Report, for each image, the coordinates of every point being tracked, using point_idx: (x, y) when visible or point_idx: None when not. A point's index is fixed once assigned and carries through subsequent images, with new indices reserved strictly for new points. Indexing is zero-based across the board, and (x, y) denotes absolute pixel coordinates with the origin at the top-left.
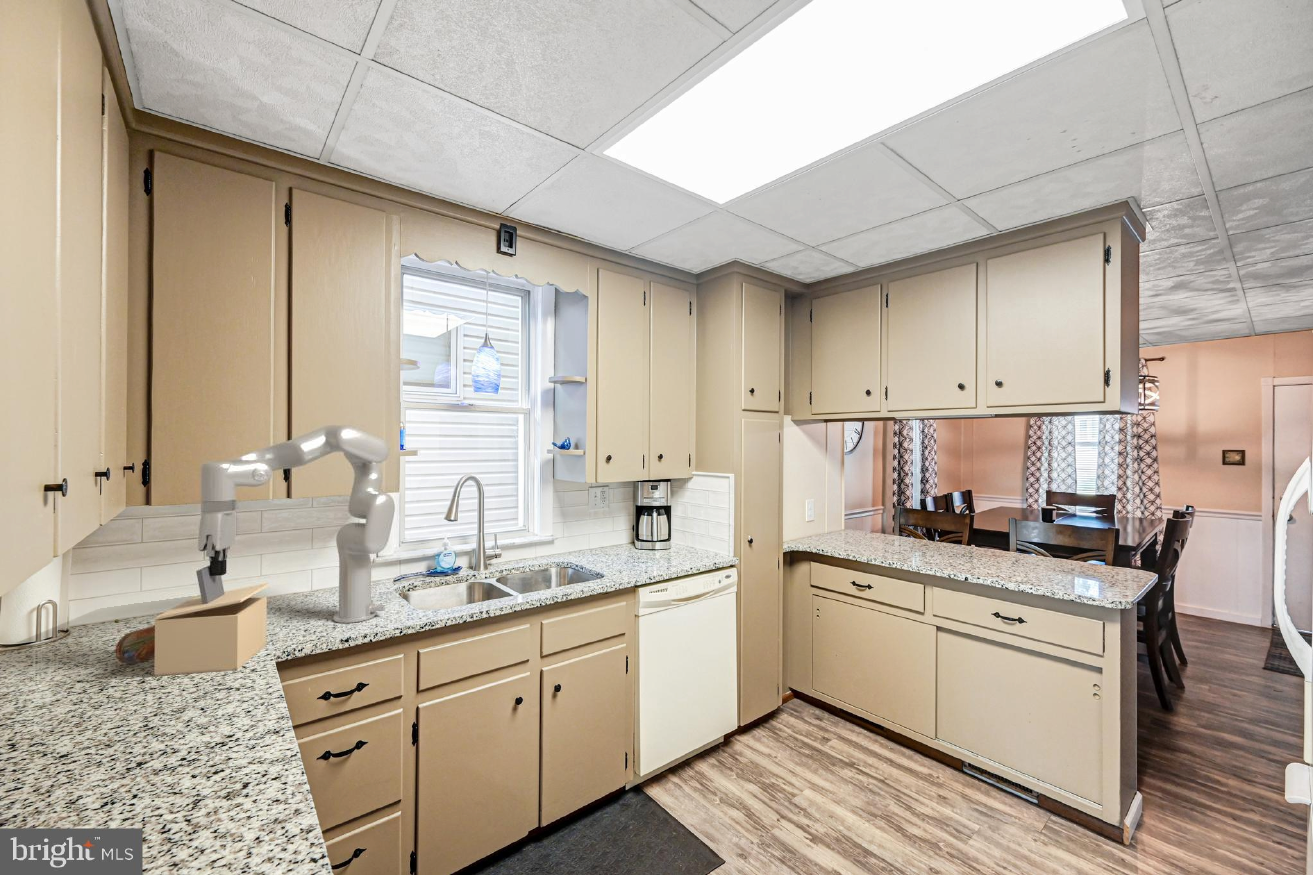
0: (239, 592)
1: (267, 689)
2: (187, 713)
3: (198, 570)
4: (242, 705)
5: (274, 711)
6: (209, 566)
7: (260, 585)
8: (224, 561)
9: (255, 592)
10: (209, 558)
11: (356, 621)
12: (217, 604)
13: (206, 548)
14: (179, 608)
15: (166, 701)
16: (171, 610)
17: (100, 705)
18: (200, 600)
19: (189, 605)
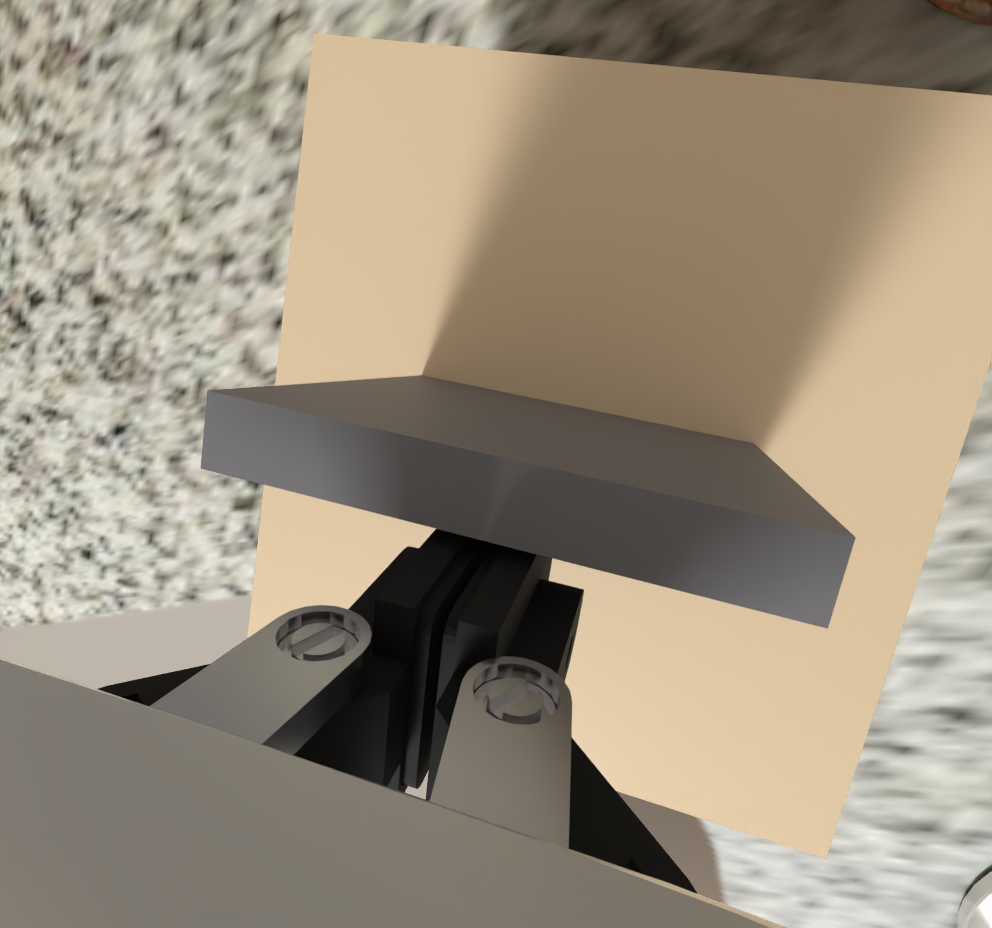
0: (630, 626)
1: (222, 587)
2: (95, 395)
3: (217, 422)
4: (124, 533)
5: (79, 611)
6: (467, 531)
7: (772, 786)
8: (397, 786)
9: None
10: (256, 640)
11: (957, 924)
12: (267, 517)
13: (179, 747)
14: (500, 161)
15: (190, 295)
16: (490, 95)
17: (200, 39)
18: (707, 280)
19: (543, 232)
